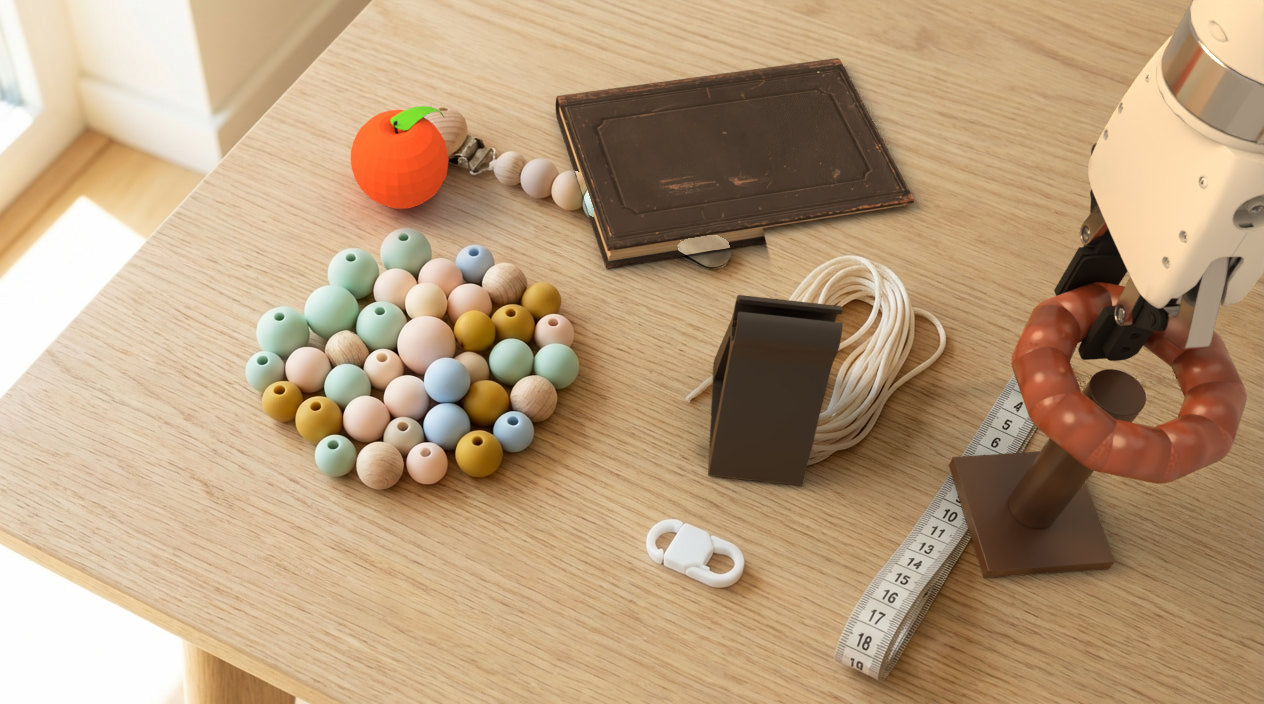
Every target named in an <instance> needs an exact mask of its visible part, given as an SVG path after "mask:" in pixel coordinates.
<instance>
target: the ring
mask: <svg viewBox="0 0 1264 704" xmlns="http://www.w3.org/2000/svg"><path fill="white" fill-rule="evenodd" d="M1125 286H1126V285H1124V286H1123V285H1120V284H1119V285H1115V284H1110V283H1104V282H1094V283H1090V284H1087V285H1085V286H1082V287H1079V288H1077V289H1074V290H1071V291H1068V292H1066V293H1063V294H1060V295H1058V296H1056V295H1055V296H1053V297H1050V298H1047V299H1045V300H1042V301H1041V302H1039V303H1038V304H1036V306H1035V307H1034V308H1033V309H1032V311H1031V312H1030V315H1029V317H1028V319H1027V321H1026V324H1025V326H1024V328H1023V330H1022V332H1021V334H1020V336H1019V339H1018V341H1017V343H1016V344H1015V347H1014V350H1013V352H1012V355H1011V369H1012V372H1013V374H1014V378H1015V380H1016V383H1017V386H1018V389H1019V392H1020V395H1021V398H1022V400H1023V404H1024V406H1025V409H1026V412H1027V414H1028V418H1029V420H1030V421H1031V423H1032V424H1033V425H1034V426H1035V427H1036V428H1037V430H1039V431H1040V432H1041V433H1043V435H1045V436H1046V437H1048V439H1049V438H1050V439H1051V440H1053V441H1054V442H1055V443H1056V444H1058V445H1059V446H1060V447H1061V448H1062V449H1064V450H1065V451H1066V452H1067V453H1069V454H1070V455H1071V456H1072V457H1073V458H1075V459H1076V460H1077V461H1078V462H1080V463H1081V464H1082V465H1083V466H1085V467H1086V468H1088V469H1090V470H1093V471H1094V472H1098V473H1102V474H1107V475H1112V476H1117V477H1122V478H1125V479H1126V478H1127V479H1131V480H1136V481H1140V482H1146V483H1150V484H1156V485H1162V484H1163V485H1164V484H1168V483H1172V482H1175V481H1177V480H1179V479H1182V478H1183V477H1186V476H1188V475H1190V474H1192V473H1195V472H1197V471H1199V470H1202V469H1204V468H1207V467H1209V466H1211V465H1214V464H1216V463H1218V462H1219V461H1221V460H1223V459H1224V458H1226V456H1227V455H1228V454H1229V453H1230V451H1231V450H1232V448H1233V445H1234V442H1235V439H1236V435H1237V433H1238V429H1239V426H1240V423H1241V420H1242V418H1243V417H1242V416H1243V414H1244V410H1245V408H1246V406H1247V405H1246V404H1247V400H1248V396H1247V390H1246V387H1245V385H1244V383H1243V380H1242V379H1241V377H1240V374H1239V372H1238V369H1237V367H1236V366H1235V364H1234V363H1235V362H1234V361H1233V359H1232V357H1231V354H1230V352H1229V350H1228V347H1227V346H1226V344H1225V342H1224V340H1223V338H1222V337H1221V335H1220V334H1219V333H1218V332H1217V331H1216V330H1214V332H1213V336H1212V341H1211V344H1210V346H1209V347H1208V348H1202V349H1185V350H1181V349H1179V348H1178V347H1177V346H1175V345H1174V344H1173V343H1171V342H1170V341H1169V340H1167V339H1166V338H1165V337H1163V336H1164V334H1162V333H1161V332H1160V331H1153V333H1152V334H1151V336H1150V337H1149V338H1148V340H1147V341H1146V343H1145V344H1144V345H1143V347H1144V348H1146V350H1148V351H1149V352H1150V353H1152V354H1154V355H1155V356H1156V357H1157V358H1159V359H1160V360H1161V361H1162V362H1164V363H1165V364H1166V365H1168V366H1169V367H1170V368H1171V369H1172V371H1173V374H1174V377H1175V378H1176V381H1177V383H1178V385H1179V388H1180V390H1181V393H1182V395H1183V397H1184V399H1183V402H1182V404H1181V407H1180V410H1179V413H1178V415H1177V417H1175V418H1173V419H1171V420H1169V421H1166V422H1164V423H1161V424H1158V425H1157V426H1153V425H1146V424H1141V423H1137V422H1127V421H1122V420H1117V419H1115V418H1114V417H1112V416H1111V415H1110V414H1109V413H1107V412H1106V411H1105V410H1103V409H1102V408H1101V407H1100V406H1098V405H1097V404H1096V403H1095V402H1093V401H1092V400H1091V399H1090V398H1088V397H1087V396H1086V395H1085V394H1083V393H1082V389H1081V387H1080V385H1079V382H1078V380H1077V377H1076V374H1075V371H1074V369H1073V366H1072V363H1071V360H1072V359H1073V355H1074V353H1075V351H1076V348H1077V346H1078V344H1081V342H1082V341H1083V340H1084V339H1085V338H1086V336H1087V334H1088V331H1089V330H1090V328H1091V327H1092V325H1093V324H1094V322H1095V321H1096V319H1097V317H1098V316H1099V314H1100V313H1101V311H1102V310H1103V309H1104V308H1105V307H1107V306H1116V304H1117V302H1118V300H1119V298H1120V296H1121V294H1122V292H1123V290H1124V288H1125Z"/></svg>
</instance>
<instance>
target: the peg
mask: <svg viewBox="0 0 1264 704" xmlns="http://www.w3.org/2000/svg"><path fill="white" fill-rule="evenodd" d="M1081 392H1082V393H1083V394H1085V395H1086V396H1087V397H1088V398H1090V399H1091V400H1092V401H1093V402H1095V403H1096V404H1097V405H1098V406H1100V407H1101V408H1102V409H1103V410H1105V411H1106V412H1107V413H1109V414H1110V415H1111V416H1112V417H1114V418H1115V419H1117V420H1122V421H1127V422H1132V423H1134V421H1135V420H1136V418H1137V417H1138V415H1139V414H1140V413H1141V411H1142V410H1143V409H1144V408H1145V406H1146V402H1147V395H1146V390H1145V388H1144V387H1143V386H1142V384H1141V383H1140V382H1139V380H1138V379H1136V377H1134V376H1132V375H1131V374H1129V373H1127V372H1125V371H1123V370H1119V369H1114V368H1106V369H1102V370H1099V371H1096V373H1094V374H1093V375H1092V376H1091V377H1090V379H1089V381H1088V382H1087V383H1086V385H1084V388H1083V389H1082V390H1081ZM948 467H949V471H950V474H951V477H952V480H953V485H954V486H955V490H956V493H957V496H958V499H959V502H960V506H961V509H962V513H963V516H964V519H965V522H966V525H968V526H967V529H968V532H969V536H970V538H971V543H972V545H973V548H974V551H975V554H976V557H977V561H978V564H979V567H980V571H981V574H982V577H983V578H984V579H986V578H987V579H988V578H998V577H999V578H1000V577H1001V578H1002V577H1015V576H1027V575H1028V576H1029V575H1041V574H1043V575H1044V574H1056V573H1068V572H1083V571H1084V572H1085V571H1096V570H1098V571H1099V570H1109V569H1111V567H1112V566H1113V565H1114V564H1115V563H1116V559H1115V557H1114V553H1113V551H1112V548H1111V546H1110V543H1109V541H1108V538H1107V535H1106V532H1105V530H1104V528H1103V525H1102V522H1101V519H1100V517H1099V514H1098V512H1097V509H1096V506H1095V504H1094V502H1093V501H1094V500H1093V497H1092V495H1091V493H1090V491H1089V487H1088V484H1087V483H1086V482H1087V481H1088V480H1089V479H1090V477H1091V475H1093V473H1094V472H1095V471H1093V470H1090V469H1088V468H1086V467H1085V466H1083V465H1082V464H1081V463H1080V462H1078V461H1077V460H1076V459H1075V458H1073V457H1072V456H1071V455H1070V454H1069V453H1067V452H1066V451H1065V450H1064V449H1062V448H1061V447H1060V446H1059V445H1058V444H1056V443H1055V442H1054V441H1053V440H1051V439H1050V438H1049V437H1048V440H1047V441H1046V443H1044V445H1043V447H1042V449H1041V450H1039V451H1025V452H1009V453H1008V452H1007V453H996V454H979V455H978V454H977V455H962V456H952V458H951V460H950V461H949V463H948Z"/></svg>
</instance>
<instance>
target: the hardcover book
mask: <svg viewBox="0 0 1264 704" xmlns="http://www.w3.org/2000/svg"><path fill="white" fill-rule="evenodd" d="M555 116H556V120H557V124H558V126H559V130H560V132H561V135H562V136H561V137H562V139H563V141H564V145H565V148H566V151H567V153H568V157H569V160H570V163H571V167H572V169H573V171H574V170H575V171H578V172H580V173H581V175H582V176H583V178H584V181H585V184H586V187H587V190H588V193H589V196H590V199H591V202H592V205H593V208H594V217H592V216H590V215H588V218H589V221H590V224H591V227H592V230H593V233H594V237H595V239H596V243H597V245H598V248H599V252H600V255H601V258H602V261H603V263H604V268H605V270H606V269H612V268H613V269H614V268H619V267H625V266H632V265H637V264H643V263H649V262H656V261H663V260H669V259H675V258H682V257H686V256H685V255H683V254H682V253H681V252H679V251H678V247H677V245H678V244H679V243H680V242H681V241H684V240H685V239H688V238H695V237H701V236H707V235H718V236H720V237H722V238H724V239H726V240H727V241H728V242H729V245H730V248H731V249H737V248H743V247H749V246H755V245H762V244H767V239H766V235H765V232H764V229H766V228H772V227H779V226H784V225H785V226H786V225H791V224H797V223H798V224H799V223H804V222H810V221H816V220H822V219H829V218H834V217H841V216H846V215H847V216H848V215H854V214H860V213H865V212H867V213H868V212H872V211H873V212H874V211H879V210H884V209H891V208H897V207H904V206H905V207H906V206H907V205H908V204H914V203H915V198H914V197H913V195H912V193H911V191H910V189H909V187H908V185H907V182H906V181H905V180H904V178H903V176H902V174H901V172H900V170H899V168H898V166H897V164H896V163H895V162H896V161H894V159H893V156H892V155H891V153H890V151H889V149H888V147H887V146H886V143H885V142H884V140H883V138H882V136H881V134H880V132H879V130H878V128H877V127H876V126H877V125H875V123H874V121H873V119H872V117H871V116H870V113H869V111H868V109H867V108H866V106H865V104H864V102H863V100H862V98H861V96H860V94H859V92H858V91H857V88H856V87H855V85H854V83H853V81H852V80H851V78H850V76H849V73H848V71H847V70H846V68H845V66H844V64H843V62H842V60H841V59H840V58H838V57H835V58H828V59H827V58H826V59H820V60H813V61H805V62H797V63H792V64H791V63H790V64H783V65H776V66H769V67H768V66H767V67H761V68H755V69H745V70H738V71H730V72H724V73H723V72H722V73H717V74H709V75H702V76H694V77H688V78H687V77H686V78H679V79H673V80H665V81H664V80H663V81H657V82H650V83H643V84H642V83H641V84H636V85H627V86H620V87H613V88H605V89H600V90H599V89H598V90H590V91H584V92H577V93H569V94H562V95H561V94H560V95H557V96H556V97H555ZM680 240H681V241H680Z"/></svg>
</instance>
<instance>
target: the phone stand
mask: <svg viewBox="0 0 1264 704" xmlns="http://www.w3.org/2000/svg"><path fill="white" fill-rule="evenodd" d="M733 307H734V309H733V313H732V317H731V319H730V321H729V324H728V326H727V328H726V331H725V334H724V336H723V338H722V340H721V343H720V344H719V348H718V349H717V352H716V355H715V356H714V360H713V367H712V368H713V370H712V385H711V386H712V388H711V389H712V390H711V407H710V429H709V448H708V467H707V469H708V470H707V475H708V476H713V477H720V478H728V479H729V478H730V479H740V480H747V481H748V480H749V481H758V482H767V483H775V484H785V485H793V486H799V487H800V486H803V485H804V481H805V478H806V473H807V469H808V466H809V460H810V457H811V452H812V448H813V445H814V440H815V437H816V432H817V427H818V424H819V420H820V416H821V412H822V408H823V403H824V399H825V395H826V391H827V387H828V383H829V379H830V376H831V370H832V368H833V364H834V361H835V359H836V357H837V355H838V352H839V349H840V345H841V341H842V335H843V328H844V327H843V326H844V323H843V322H838V321H837V322H836V319H837V315H842V313H843V307H842V306H841V305H834V304H828V303H827V304H826V303H818V302H817V303H816V302H807V301H798V300H789V299H779V298H771V297H761V296H751V295H742V294H737V296H736V299H735V303H734V306H733Z"/></svg>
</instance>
